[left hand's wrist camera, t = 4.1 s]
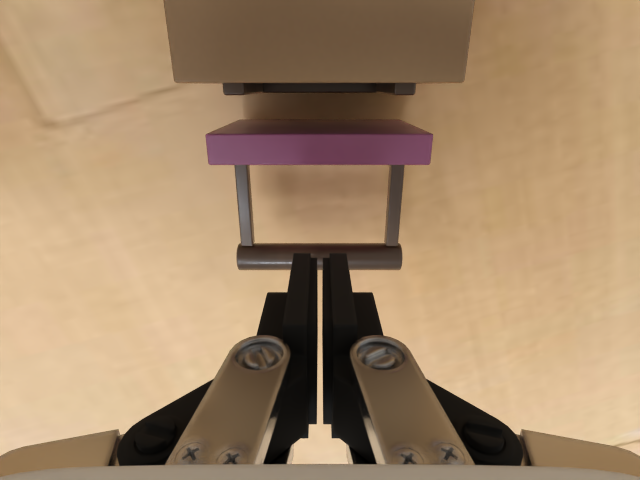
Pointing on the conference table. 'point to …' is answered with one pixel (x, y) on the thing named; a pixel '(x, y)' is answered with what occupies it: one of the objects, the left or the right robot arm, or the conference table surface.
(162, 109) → the conference table surface
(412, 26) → the cabinet
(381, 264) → the drawer
